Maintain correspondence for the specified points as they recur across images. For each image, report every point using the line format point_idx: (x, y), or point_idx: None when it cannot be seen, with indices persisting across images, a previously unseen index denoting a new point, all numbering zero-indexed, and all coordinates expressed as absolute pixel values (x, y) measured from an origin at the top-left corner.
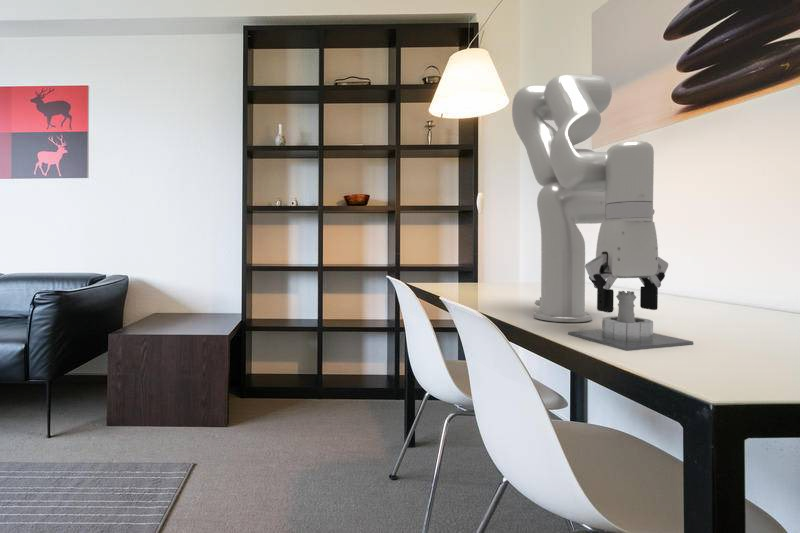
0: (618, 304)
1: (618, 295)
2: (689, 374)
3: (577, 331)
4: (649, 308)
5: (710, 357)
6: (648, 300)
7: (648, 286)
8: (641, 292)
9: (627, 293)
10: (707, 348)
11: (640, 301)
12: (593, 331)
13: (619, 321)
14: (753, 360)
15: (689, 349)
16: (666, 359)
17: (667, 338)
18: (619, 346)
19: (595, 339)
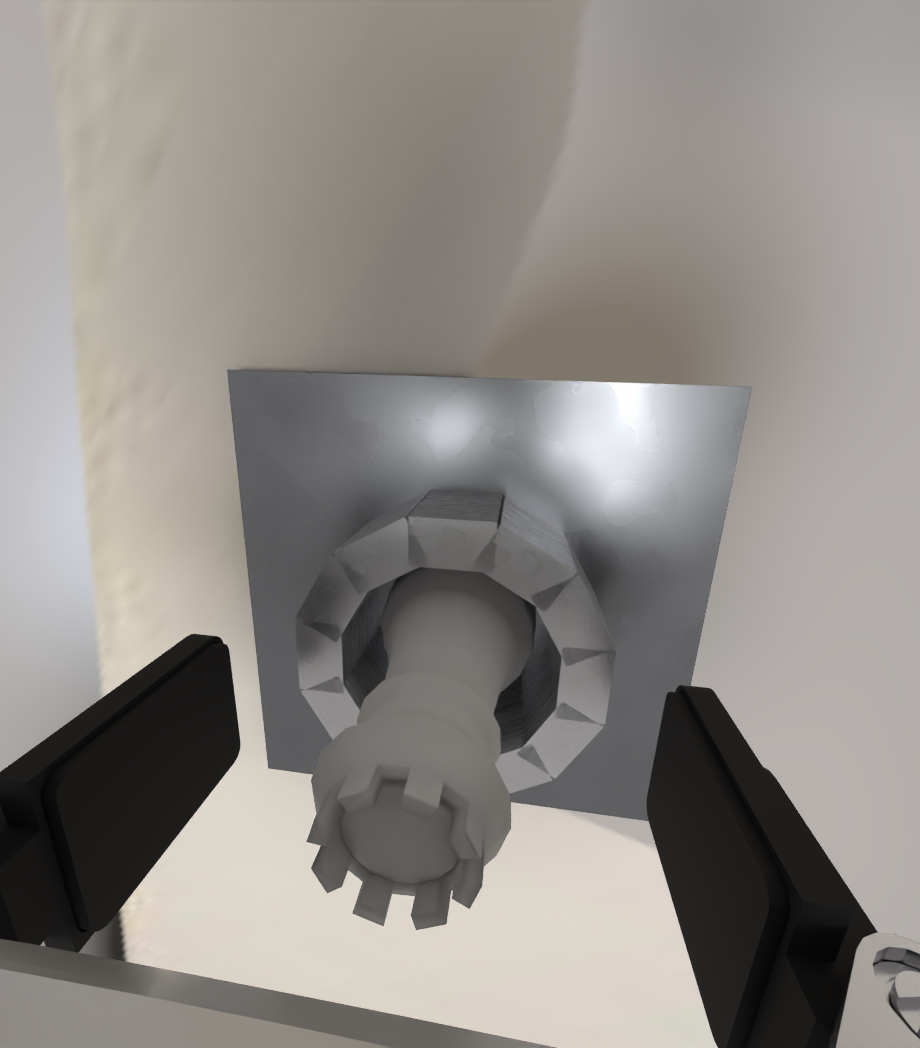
0: (367, 708)
1: (319, 788)
2: (243, 975)
3: (287, 387)
4: (652, 774)
5: (483, 930)
6: (679, 830)
7: (777, 1021)
8: (730, 832)
9: (391, 862)
10: (631, 867)
11: (690, 726)
12: (386, 426)
13: (340, 698)
14: (578, 1001)
15: (539, 846)
16: (314, 881)
17: (616, 735)
18: (268, 732)
19: (252, 599)
